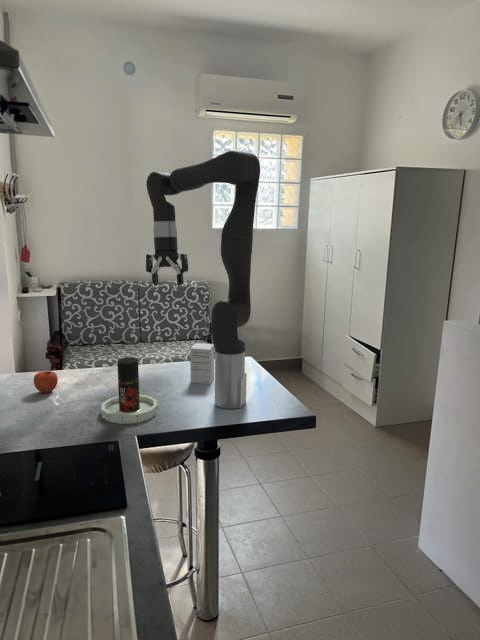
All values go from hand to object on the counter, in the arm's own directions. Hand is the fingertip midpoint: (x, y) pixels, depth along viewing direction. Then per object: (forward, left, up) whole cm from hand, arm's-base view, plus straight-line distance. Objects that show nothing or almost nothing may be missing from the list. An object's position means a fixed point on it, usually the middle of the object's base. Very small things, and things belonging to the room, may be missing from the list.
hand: (167, 285), depth 161 cm
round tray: (+1, +26, -35) cm, 43 cm away
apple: (+35, +20, -35) cm, 53 cm away
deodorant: (+1, +26, -34) cm, 43 cm away
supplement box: (-9, -8, -35) cm, 37 cm away
